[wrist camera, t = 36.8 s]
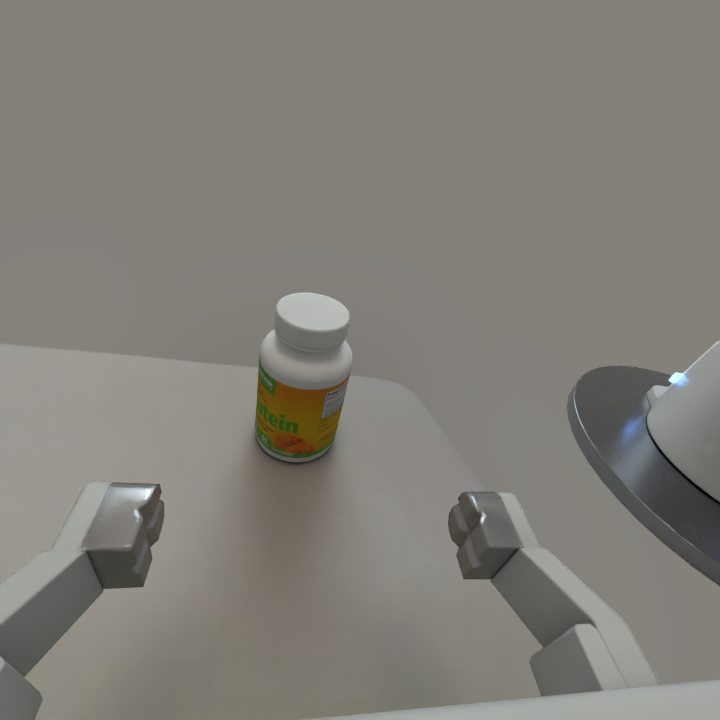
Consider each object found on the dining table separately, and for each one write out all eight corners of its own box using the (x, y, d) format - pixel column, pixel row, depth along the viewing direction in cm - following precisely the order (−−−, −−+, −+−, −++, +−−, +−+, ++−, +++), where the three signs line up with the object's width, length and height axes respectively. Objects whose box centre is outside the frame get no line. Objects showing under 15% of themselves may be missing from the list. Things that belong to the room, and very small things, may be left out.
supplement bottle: (236, 434, 25) (239, 304, 19) (291, 394, 29) (306, 277, 23) (300, 480, 23) (323, 352, 17) (349, 431, 27) (380, 314, 21)
